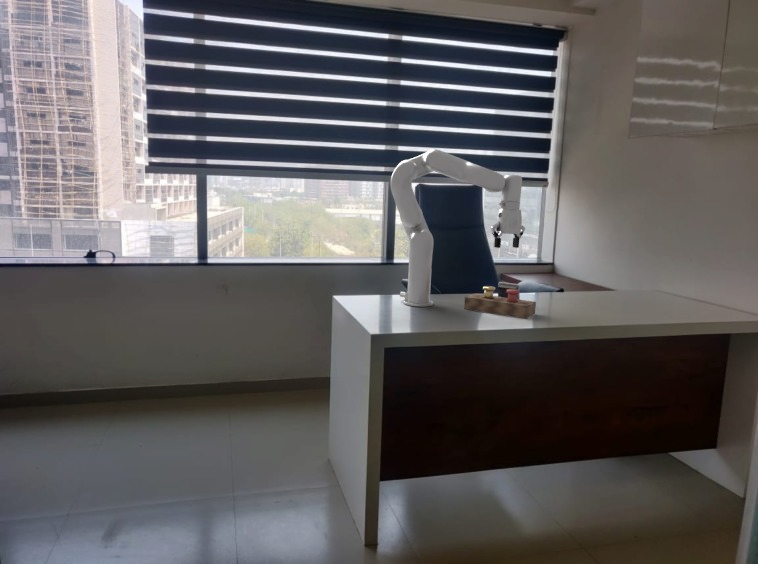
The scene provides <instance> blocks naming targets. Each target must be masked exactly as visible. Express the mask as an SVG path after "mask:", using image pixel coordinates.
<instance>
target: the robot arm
mask: <svg viewBox="0 0 758 564" xmlns="http://www.w3.org/2000/svg"><path fill="white" fill-rule="evenodd" d="M433 172H435V173H438V174H439V175H443V176H446V177H448V178H450V179H453V180H455V181H458V182H462V183H468V184H472V185H475V186H478V187H480V188H482V189H484V190H486V191H487V192H489V193H499V192H500V193H501V200H500V202H499V204H498V205H499V206H500V208H499V210H498V213H497V218H496V223H495V224H493V225H491V226H490V231H491V235H492V236H493V238H494V244H493V247H494V248H497V249H500V248H501V246H502V245H501V244H502V236H503V234H506V235H510V234H511V235H513V238H512V248H514V249H515V248H516V249H518V248H520V247H519V246H520V240H521V239H522V236H523V235H524V232H525V230H526V227H525V226H524V225H522V223H523V222H522V221H523V220H522V216H523V215H522V210H521V208H520V207H521V197H522V196H521V195H522V186H523V177H522V176H521V175H519V174H506V175H503V174H502V173H499V172H497V171H495V170H492V169H490V168H486V167H484V166H481V165H479V164H476V163H473V162H471V161H468V160H465V159H464V158H461V157H458V156H455V155H452V154H451V153H447V152H445V151H442V150H440V149H437V148H431V149H429V150H427V151H426V152H424V153H422V154H420V155H418V156H414V157H413V158H409V159H404V160H401V161H400V162H399V163H398V165H396V167H395V168H394V170H393V172H392V174H391V177H390V191H391V195H392V197H393V199H394V203H395V206H396V208H397V211H398V213H399V218H400V221H401V222H402V227H403V229H404V231H405V233H406V236H407V238H408V241H409V253H408V276H407V277H408V278H407V291H406V292H405V291H400V293H399V297H401V298H404V299H403V304H404V305H406V306H408V307H409V306H410V307H422V308H423V307H431V306H433V305H434V301H433V300H431V285H432V284H431V283H432V282H431V281H432V264H433V252H434V242H435V241H434V237H433V234H432V232H431V231H430V230H429V226H428V224H427V222H426V219H425V217H424V215H423V213H424V212H423V211H422V208H421V207H420V205H419V202H418V201H417V198H416V195H415V192H414V189H413V185H412V183H413V180H415V179H418V178H420V177H421V178H422V177H423V176H426V175H428V174H430V173H433Z"/></svg>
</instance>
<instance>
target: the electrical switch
mask: <svg viewBox="0 0 758 564" xmlns="http://www.w3.org/2000/svg"><path fill="white" fill-rule="evenodd" d="M507 289H515V290H519V294H517V299H519V300H521V298H520V297H521V296H520V291H521V290H520V284H518V283H511V282H504V281H503V282H502V281H499V282H498V284H497V296H498V297H505V298H508V293H506V291H507Z"/></svg>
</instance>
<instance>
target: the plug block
mask: <svg viewBox="0 0 758 564" xmlns="http://www.w3.org/2000/svg"><path fill="white" fill-rule="evenodd" d="M507 301H508V298H505V297H498V295H497V296H496V295H493V299H486V298H484V293H476V292H475V293H473V294H470V295H466V296H464V305H463V307H464V308H463V309H464V310H468V309H470V310H469V311H474V310H475V311H474V312H480V311H481V312H482V313H487V314H495V315H499V316H505V317H511V318H520V319H525V320H526V319H529V318H530V317H532V316H534V315H536V308H537V307H536V305H537V302H536V301H534V300H533V301H532V300H525V299H520V300H519V299H517V302H516V303H514V302H507Z"/></svg>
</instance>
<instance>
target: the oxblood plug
mask: <svg viewBox="0 0 758 564" xmlns="http://www.w3.org/2000/svg"><path fill="white" fill-rule="evenodd" d="M519 291H520V289H519V290H515V289H507V291H506V293H508V301H507V302H514V303H516V302H517V294H519Z"/></svg>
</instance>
